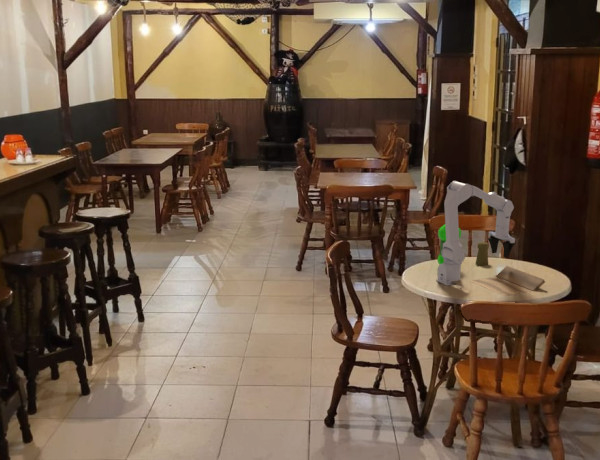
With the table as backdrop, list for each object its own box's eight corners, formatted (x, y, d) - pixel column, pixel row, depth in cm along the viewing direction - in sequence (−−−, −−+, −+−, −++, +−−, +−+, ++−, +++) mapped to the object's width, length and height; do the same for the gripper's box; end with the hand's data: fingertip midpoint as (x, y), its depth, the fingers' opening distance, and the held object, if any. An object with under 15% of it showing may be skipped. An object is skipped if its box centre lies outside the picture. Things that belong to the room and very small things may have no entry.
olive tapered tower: (486, 262, 323) (487, 240, 320) (490, 266, 317) (491, 243, 314) (473, 262, 322) (475, 240, 320) (477, 266, 317) (479, 244, 314)
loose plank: (534, 293, 278) (532, 290, 277) (497, 278, 297) (496, 275, 297) (545, 282, 279) (543, 279, 279) (507, 268, 299) (506, 265, 298)
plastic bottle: (444, 263, 322) (447, 212, 316) (463, 267, 314) (466, 216, 308) (432, 267, 315) (434, 215, 309) (451, 272, 308) (454, 219, 302)
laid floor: (505, 299, 271) (505, 296, 271) (469, 284, 291) (469, 280, 290) (531, 294, 278) (531, 291, 277) (494, 279, 297) (495, 276, 296)
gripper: (521, 228, 293) (518, 257, 296) (497, 221, 306) (495, 250, 309) (508, 229, 290) (506, 259, 293) (486, 222, 303) (483, 251, 306)
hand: (500, 254), depth 301 cm, fingers open, 7 cm apart
